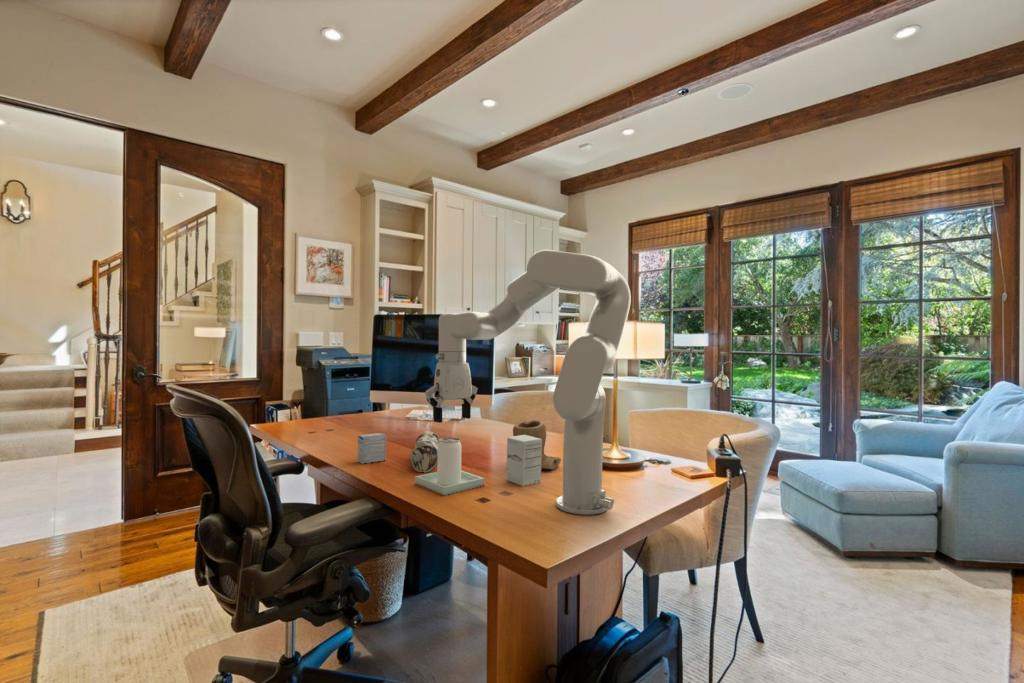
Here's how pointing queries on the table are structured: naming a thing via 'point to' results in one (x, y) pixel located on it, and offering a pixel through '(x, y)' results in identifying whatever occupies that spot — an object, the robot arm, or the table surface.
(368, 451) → the medicine box
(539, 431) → the brown boot
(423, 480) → the tray
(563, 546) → the table surface
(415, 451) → the pencil case
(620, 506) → the table surface
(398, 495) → the table surface
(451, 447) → the can
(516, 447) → the supplement box
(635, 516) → the table surface
